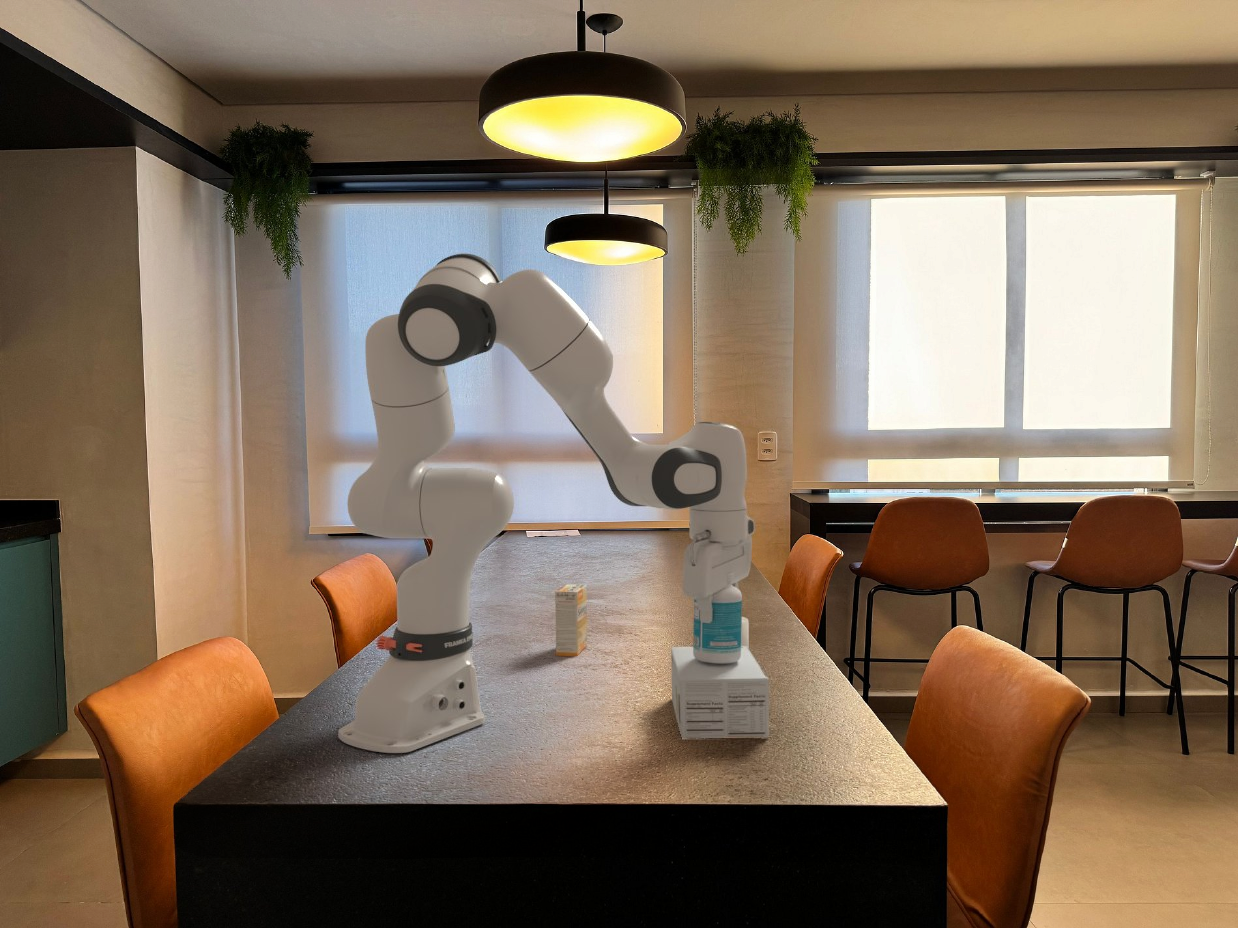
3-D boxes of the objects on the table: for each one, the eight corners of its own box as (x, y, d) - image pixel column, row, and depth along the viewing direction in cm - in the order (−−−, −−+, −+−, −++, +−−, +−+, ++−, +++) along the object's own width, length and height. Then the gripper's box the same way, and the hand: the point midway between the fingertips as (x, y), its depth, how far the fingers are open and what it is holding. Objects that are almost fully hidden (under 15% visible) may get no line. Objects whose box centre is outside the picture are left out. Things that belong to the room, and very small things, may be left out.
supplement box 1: (578, 657, 156) (577, 592, 156) (555, 656, 157) (554, 591, 157) (588, 646, 164) (587, 583, 164) (566, 645, 165) (565, 583, 165)
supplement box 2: (670, 701, 131) (669, 645, 131) (748, 700, 132) (748, 644, 131) (679, 741, 115) (679, 678, 114) (770, 740, 115) (770, 676, 114)
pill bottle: (750, 660, 122) (752, 573, 123) (720, 667, 117) (722, 576, 117) (712, 651, 128) (714, 568, 128) (682, 658, 123) (684, 571, 123)
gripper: (712, 536, 111) (712, 633, 112) (758, 521, 129) (758, 604, 130) (671, 534, 114) (671, 628, 115) (722, 519, 132) (722, 600, 133)
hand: (718, 615), depth 123 cm, fingers closed on pill bottle, 7 cm apart
